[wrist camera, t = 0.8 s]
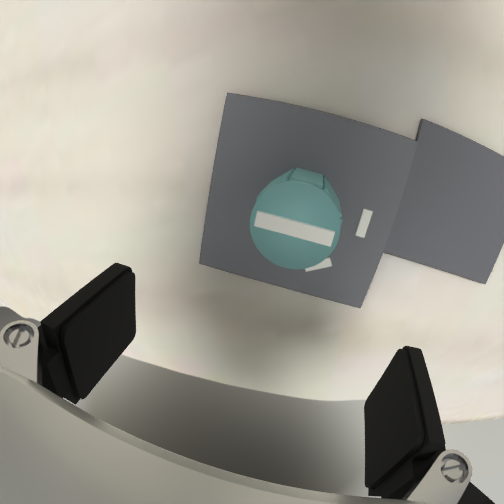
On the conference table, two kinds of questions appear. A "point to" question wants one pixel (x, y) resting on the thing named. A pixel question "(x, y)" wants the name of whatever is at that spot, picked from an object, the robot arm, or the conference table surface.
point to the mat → (451, 205)
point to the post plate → (312, 159)
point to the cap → (296, 219)
